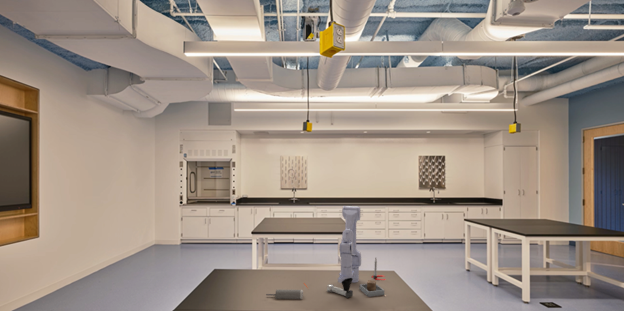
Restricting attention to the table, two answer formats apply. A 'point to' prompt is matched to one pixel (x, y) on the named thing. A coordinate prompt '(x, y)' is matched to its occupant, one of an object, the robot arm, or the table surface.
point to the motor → (288, 294)
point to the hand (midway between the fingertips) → (346, 292)
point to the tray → (371, 293)
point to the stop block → (371, 285)
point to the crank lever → (339, 290)
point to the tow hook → (376, 272)
